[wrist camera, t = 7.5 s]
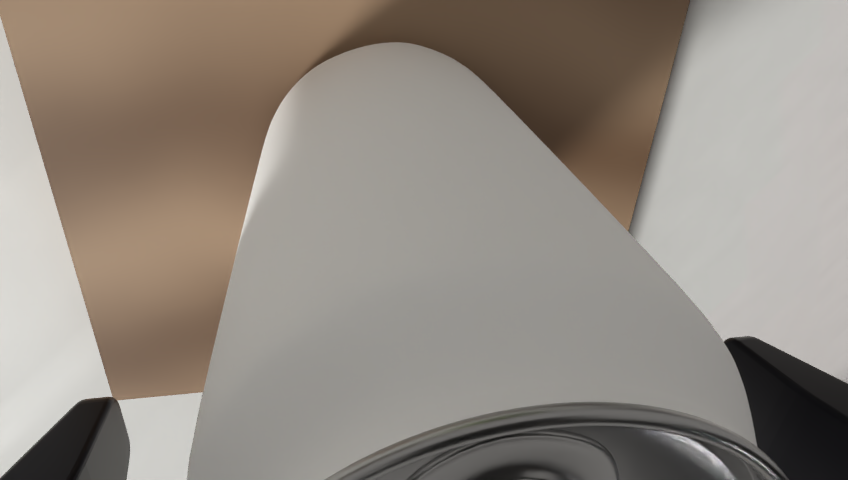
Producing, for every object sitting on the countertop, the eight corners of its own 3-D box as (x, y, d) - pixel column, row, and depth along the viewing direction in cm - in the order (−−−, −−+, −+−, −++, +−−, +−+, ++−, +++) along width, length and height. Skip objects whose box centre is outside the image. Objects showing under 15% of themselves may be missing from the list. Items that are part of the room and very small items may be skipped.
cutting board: (573, 319, 23) (595, 354, 22) (127, 356, 20) (114, 400, 19) (691, -186, 15) (741, -193, 13) (-33, -253, 12) (-85, -272, 10)
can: (503, 20, 15) (956, 291, 4) (512, 249, 18) (784, 727, 7) (234, 58, 14) (-9, 471, 4) (292, 287, 17) (251, 858, 7)
